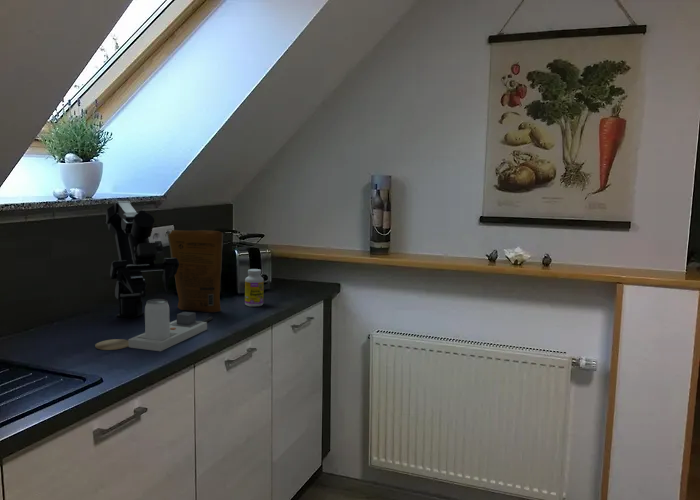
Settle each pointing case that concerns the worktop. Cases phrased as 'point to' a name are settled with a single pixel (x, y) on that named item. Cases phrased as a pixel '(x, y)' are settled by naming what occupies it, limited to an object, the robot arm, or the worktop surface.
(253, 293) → the supplement bottle
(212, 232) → the pancake mix bag
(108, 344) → the cork coaster
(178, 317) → the block
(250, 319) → the worktop surface
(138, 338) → the strip dock
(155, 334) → the can
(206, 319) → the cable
